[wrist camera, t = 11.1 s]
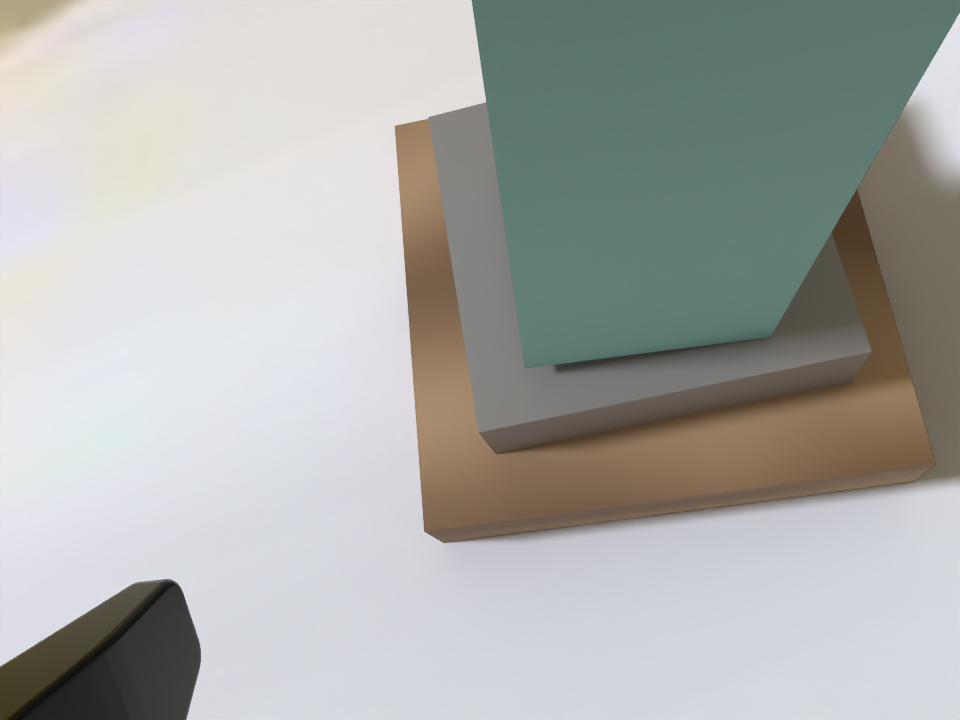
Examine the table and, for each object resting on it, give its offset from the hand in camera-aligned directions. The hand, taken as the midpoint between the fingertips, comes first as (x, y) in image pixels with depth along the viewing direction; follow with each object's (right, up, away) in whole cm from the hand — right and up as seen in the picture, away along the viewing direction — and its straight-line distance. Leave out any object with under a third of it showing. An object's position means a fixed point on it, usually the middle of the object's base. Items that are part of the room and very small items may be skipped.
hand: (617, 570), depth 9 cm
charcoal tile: (+2, +4, +12) cm, 13 cm away
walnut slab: (+3, +3, +15) cm, 15 cm away
